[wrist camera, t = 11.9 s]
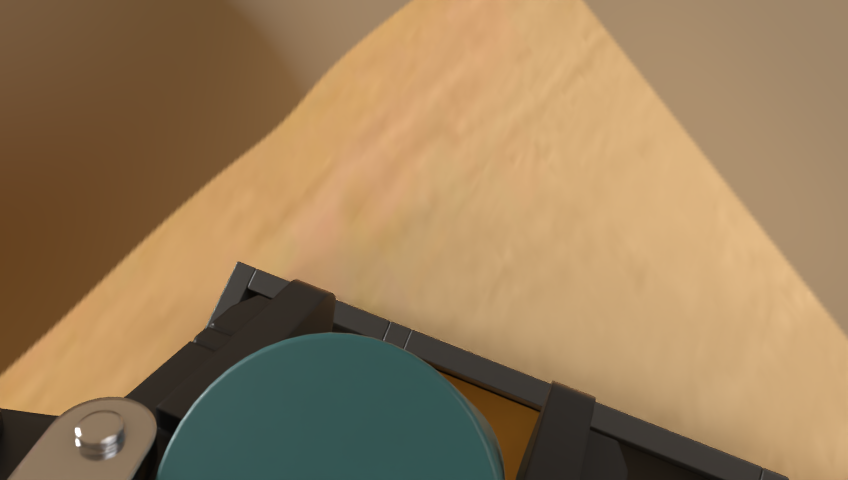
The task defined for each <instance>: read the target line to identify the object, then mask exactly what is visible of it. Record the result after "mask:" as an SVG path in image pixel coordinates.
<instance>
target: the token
mask: <svg viewBox="0 0 848 480" xmlns="http://www.w3.org/2000/svg"><path fill="white" fill-rule="evenodd" d="M155 480H505V468H504V460H503V456H502V451H501V448H500V445H499V442H498V439H497V437H496V435H495V433H494V431H493V429H492V427H491V425H490V424H489V423H488V421H487V420H486V418H485V417H484V416H483V414H482V413H481V412H480V411H479V410H478V409H477V408H476V407H475V406H474V405H473V404H472V403H471V402H470V401H469V400H468V399H467V398H466V397H465V396H464V395H463V394H462V393H461V392H460V391H459V390H458V389H457V388H456V387H455V386H453V385H452V384H451V383H450V382H449V381H448V380H447V379H446V378H445V377H444V376H442V375H441V374H440V373H439V372H438V371H437V370H436V369H434V368H433V367H432V366H431V365H429V364H428V363H426V362H425V361H423V360H422V359H420V358H419V357H417V356H416V355H414V354H413V353H411V352H408V351H406V350H404V349H402V348H400V347H398V346H396V345H394V344H391V343H388V342H385V341H382V340H379V339H376V338H373V337H368V336H363V335H357V334H352V333H332V332H328V333H317V334H307V335H302V336H298V337H293V338H289V339H285V340H283V341H280V342H277V343H274V344H272V345H269V346H266V347H264V348H262V349H260V350H258V351H256V352H254V353H252V354H251V355H249V356H247V357H245V358H244V359H242V360H241V361H239V362H238V363H236V364H235V365H233V366H232V367H230V368H229V369H228V370H226V371H225V372H224V373H223V374H222V375H221V376H220V377H218V378H217V379H216V380H215V381H214V382H213V383H212V384H210V386H209V387H208V388H207V389H206V390H205V391H204V392H203V393H202V394H201V396H200V397H199V398H198V399H197V400H196V401H195V402H194V404H193V405H192V406H191V408H190V409H189V411H188V412H187V413H186V415H185V416H184V418H183V419H182V420H181V422H180V423H179V425H178V427H177V429H176V431H175V433H174V434H173V436H172V438H171V440H170V442H169V443H168V446H167V448H166V451H165V453H164V456H163V458H162V460H161V463H160V465H159V468H158V472H157V475H156V479H155Z"/></svg>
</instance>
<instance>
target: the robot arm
mask: <svg viewBox="0 0 848 480" xmlns="http://www.w3.org/2000/svg"><path fill="white" fill-rule="evenodd" d="M335 304H336V298H335V295H334V294H333V293H330V292H328V291H325V290H323V289H320V288H318V287H315V286H313V285H310V284H307V283H305V282H302V281H300V280H293V281H291V282H290V283H289V284H288V285H287V286H286V287H284V288H283V289H282V290H281V291H280V292H279V293H278V294H277V295H276V296H275V297H274V298H273V299H271V300H270V299H267V298H265V297H263V296H260V295H257V296H255V297H252V298H250V299H247V300H245V301H242V302H240V303H237V304H235V305H232V306H231V307H229V308H228V309H227V310H226V311H225V312H224V313H222V314H221V315H220V316H219V317H218V318H217V319H215V320H214V321H213V322H212V323H211V326H210V327H206V328H205V329H204V330H203V331H202V332H200V333H199V334H198V335H197V336H196V337H195V338H194V341H193V342H191V341H190V342H189V343H188V344H186V345H185V346H184V347H183V348H182V349H181V350H179V351H178V352H177V353H176V354H175V355H174V356H172V357H171V358H170V359H169V360H168V361H167V362H165V363H164V364H163V365H162V366H161V367H160V368H158V369H157V370H156V371H155V372H154V373H153V374H151V375H150V376H149V377H148V378H147V379H146V380H144V381H143V382H142V383H141V384H140V385H139V386H137V387H136V388H135V389H134V390H133V391H132V392H130V393H129V394H128V395H127V396H125V397H124V398H121V397H104V398H97V399H93V400H89V401H86V402H83V403H80V404H78V405H76V406H74V407H72V408H70V409H69V410H67V411H65V412H64V413H63V414H61V415H60V416H53V415H45V414H38V413H30V412H23V411H16V410H8V409H1V408H0V480H155V479H156V475H157V472H158V468H159V465H160V463H161V460H162V458H163V456H164V453H165V451H166V448H167V446H168V443H169V442H170V440H171V438H172V436H173V434H174V433H175V431H176V429H177V427H178V425H179V423H180V422H181V420H182V419H183V418H184V416H185V415H186V413H187V412H188V411H189V409H190V408H191V406H192V405H193V404H194V402H195V401H196V400H197V399H198V398H199V397H200V396H201V394H202V393H203V392H204V391H205V390H206V389H207V388H208V387H209V386H210V384H212V383H213V382H214V381H215V380H216V379H217V378H218V377H220V376H221V375H222V374H223V373H224V372H225V371H226V370H228V369H229V368H230V367H232V366H233V365H235V364H236V363H238V362H239V361H241V360H242V359H244V358H245V357H247V356H249V355H251V354H252V353H254V352H256V351H258V350H260V349H262V348H264V347H266V346H269V345H272V344H274V343H277V342H280V341H283V340H285V339H289V338H293V337H298V336H302V335H307V334H317V333H328V332H332V326H333V319H334V312H335ZM595 400H596V399H595V397H593V396H591V395H588V394H586V393H583V392H581V391H578V390H575V389H573V388H570V387H568V386H565V385H563V384H560V383H558V382H555V381H552V383H551V385H550V388H549V390H548V393H547V395H546V398H545V401H544V403H543V406H542V408H541V411H540V414H539V416H538V419H537V421H536V424H535V426H534V429H533V432H532V434H531V437H530V439H529V442H528V444H527V447H526V450H525V453H524V455H523V458H522V461H521V464H520V467H519V470H518V473H517V476H516V479H515V480H627V476H628V469H627V466H626V464H625V461H624V458H623V455H622V452H621V449H620V446H619V443H618V441H616V440H614V439H611V438H609V437H606V436H604V435H601V434H599V433H596V432H594V431H591V430H590V426H591V421H592V416H593V411H594V406H595Z"/></svg>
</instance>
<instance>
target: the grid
mask: <svg viewBox="0 0 848 480" xmlns="http://www.w3.org/2000/svg"><path fill="white" fill-rule="evenodd" d="M289 283H290V282H289V281H287V280H284V279H282V278H279V277H277V276H274V275H272V274H269V273H266V272H264V271H261V270H259V269H256V268H254V267H251V266H249V265H246V264H244V263H241V262H237V264H236V266H235V268H234V270H233V272H232V274H231V276H230V278H229V280H228V282H227V284H226V286H225V288H224V290H223V292H222V295H221V297H220V299H219V301H218V303H217V305H216V307H215V309H214V311H213V313H212V315H211V317H210V319H209V321H208V323H207V325H206V327H210V326H211V323H212V322H213V321H214V320H215V319H217V318H218V317H219V316H220V315H221V314H222V313H224V312H225V311H226V310H227V309H228V308H229V307H231V306H232V305H235V304H237V303H240V302H242V301H245V300H247V299H250V298H252V297H255V296H257V295H260V296H263V297H265V298H267V299H270V300H271V299H273V298H274V297H275V296H276V295H277V294H278V293H279V292H280V291H281V290H282V289H283V288H284V287H286V286H287V285H288V284H289ZM206 327H205V328H206ZM332 333H352V334H357V335H363V336H368V337H373V338H376V339H379V340H382V341H385V342H388V343H391V344H394V345H396V346H398V347H400V348H402V349H404V350H406V351H408V352H411V353H413V354H414V355H416V356H417V357H419V358H420V359H422V360H423V361H425V362H426V363H428V364H429V365H431V366H432V367H433V368H434V369H436V370H437V371H438V372H439V373H440V374H441V375H442V376H444V377H445V378H446V379H447V380H448V381H449V382H450V383H451V384H452V385H453V386H455V387H456V388H457V389H458V390H459V391H460V392H461V393H462V394H463V395H464V396H465V397H466V398H467V399H468V400H469V401H470V402H471V403H472V404H473V405H474V406H475V407H476V408H477V409H478V410H479V411H480V412H481V413H482V414H483V416H484V417H485V418H486V420H487V421H488V423H489V424H490V425H491V427H492V429H493V431H494V433H495V435H496V437H497V439H498V442H499V445H500V448H501V451H502V456H503V460H504V468H505V480H515V479H516V476H517V473H518V470H519V467H520V464H521V461H522V458H523V455H524V453H525V450H526V447H527V444H528V442H529V439H530V437H531V434H532V432H533V429H534V426H535V424H536V421H537V419H538V416H539V414H540V411H541V408H542V406H543V403H544V401H545V398H546V395H547V393H548V390H549V388H550V385H551V384H549V383H547V382H544V381H542V380H539V379H536V378H534V377H531V376H529V375H526V374H524V373H521V372H519V371H516V370H514V369H511V368H508V367H506V366H503V365H501V364H498V363H496V362H493V361H491V360H488V359H486V358H483V357H480V356H478V355H475V354H473V353H470V352H468V351H465V350H463V349H460V348H458V347H455V346H452V345H450V344H447V343H445V342H442V341H440V340H437V339H435V338H432V337H430V336H427V335H424V334H422V333H419V332H417V331H414V330H411V329H409V328H407V327H404V326H402V325H399V324H396V323H394V322H390V321H389V320H386V319H384V318H381V317H378V316H376V315H373V314H371V313H368V312H366V311H363V310H361V309H358V308H356V307H353V306H350V305H348V304H345V303H343V302H340V301H338V300H336V304H335V312H334V319H333V326H332ZM590 430H591V431H594V432H596V433H599V434H601V435H604V436H606V437H609V438H611V439H614V440H616V441H618V443H619V446H620V449H621V452H622V455H623V458H624V461H625V464H626V466H627V469H628V476H627V480H789V478H787V477H786V476H783V475H781V474H778V473H775V472H773V471H770V470H768V469H765V468H762V467H760V466H758V465H755V464H753V463H750V462H748V461H745V460H743V459H740V458H737V457H735V456H732V455H730V454H727V453H725V452H722V451H720V450H717V449H715V448H712V447H709V446H707V445H704V444H702V443H699V442H697V441H694V440H692V439H689V438H687V437H684V436H681V435H679V434H676V433H674V432H671V431H669V430H666V429H664V428H661V427H659V426H656V425H653V424H651V423H648V422H646V421H643V420H641V419H638V418H636V417H633V416H631V415H628V414H625V413H623V412H620V411H618V410H615V409H613V408H610V407H608V406H605V405H603V404H600V403H597V402H595V406H594V411H593V416H592V421H591V426H590Z"/></svg>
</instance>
